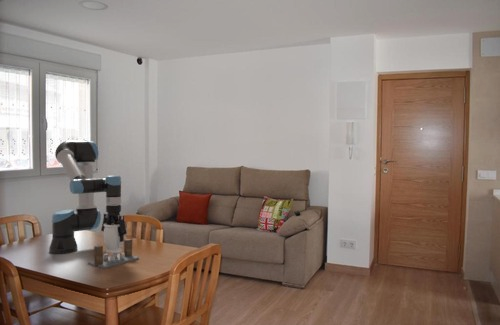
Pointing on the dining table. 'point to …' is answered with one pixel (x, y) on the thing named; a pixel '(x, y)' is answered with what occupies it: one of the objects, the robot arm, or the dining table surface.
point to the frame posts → (99, 252)
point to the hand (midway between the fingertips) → (113, 246)
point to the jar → (111, 238)
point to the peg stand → (114, 260)
